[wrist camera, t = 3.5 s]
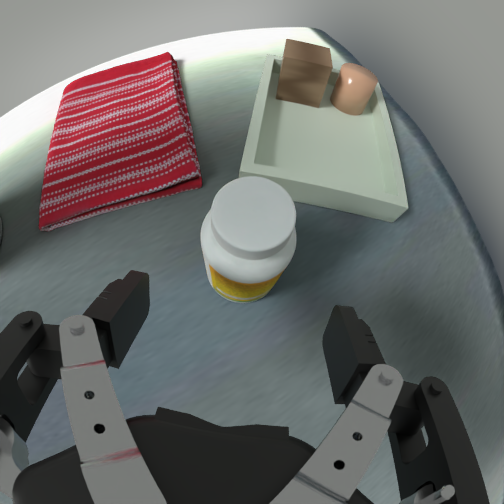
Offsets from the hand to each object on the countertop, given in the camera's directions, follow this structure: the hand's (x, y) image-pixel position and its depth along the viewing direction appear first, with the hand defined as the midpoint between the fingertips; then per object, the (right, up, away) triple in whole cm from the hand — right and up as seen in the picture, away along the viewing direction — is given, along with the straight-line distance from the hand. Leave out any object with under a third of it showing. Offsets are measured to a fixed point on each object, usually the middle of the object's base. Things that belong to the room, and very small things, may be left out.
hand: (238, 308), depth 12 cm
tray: (+8, +16, +17) cm, 24 cm away
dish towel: (-15, +16, +16) cm, 27 cm away
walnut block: (+6, +21, +18) cm, 28 cm away
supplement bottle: (0, +1, +10) cm, 10 cm away
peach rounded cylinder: (+12, +20, +18) cm, 30 cm away
